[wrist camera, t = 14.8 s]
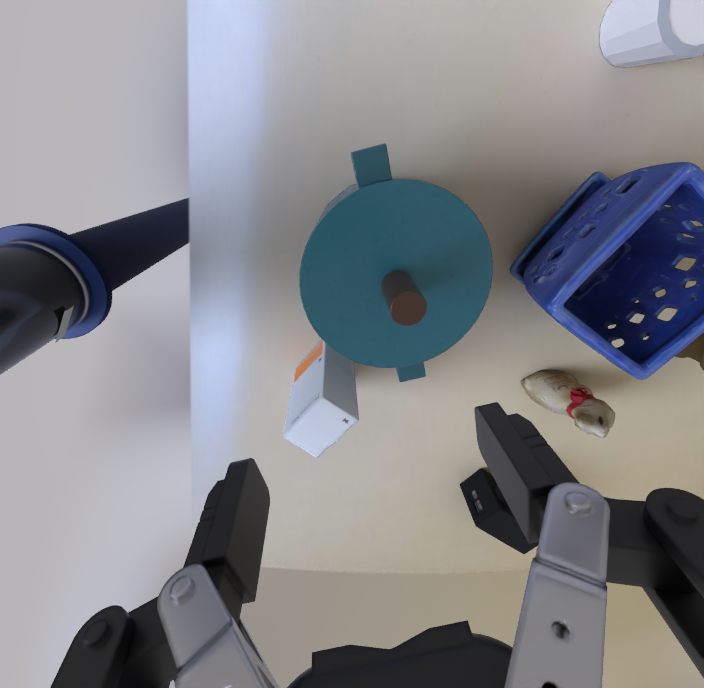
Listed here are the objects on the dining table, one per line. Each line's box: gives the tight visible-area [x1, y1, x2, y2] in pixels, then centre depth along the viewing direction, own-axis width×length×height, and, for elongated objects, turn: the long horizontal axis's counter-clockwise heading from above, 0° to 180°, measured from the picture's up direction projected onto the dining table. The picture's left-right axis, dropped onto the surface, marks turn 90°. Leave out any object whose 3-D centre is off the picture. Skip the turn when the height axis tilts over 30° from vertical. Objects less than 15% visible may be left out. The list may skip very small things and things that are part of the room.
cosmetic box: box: [283, 340, 359, 458], centre depth 38 cm, size 6×4×12 cm
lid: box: [300, 179, 493, 368], centre depth 26 cm, size 15×15×6 cm
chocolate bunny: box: [521, 370, 615, 438], centre depth 42 cm, size 6×8×10 cm
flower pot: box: [510, 162, 704, 380], centre depth 33 cm, size 13×13×12 cm
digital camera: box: [460, 469, 539, 554], centre depth 52 cm, size 10×5×7 cm, turn 50°
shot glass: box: [599, 0, 704, 67], centre depth 27 cm, size 7×7×7 cm
